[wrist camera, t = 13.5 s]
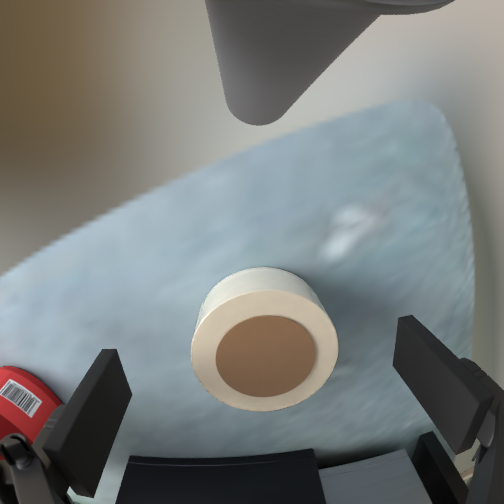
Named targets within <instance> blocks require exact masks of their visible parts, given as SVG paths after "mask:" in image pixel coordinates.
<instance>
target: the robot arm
mask: <svg viewBox="0 0 504 504" xmlns="http://www.w3.org/2000/svg"><path fill="white" fill-rule="evenodd" d="M393 367H394V368H395V369H396V371H397V372H398V374H399V375H400V376H401V378H402V379H403V380H404V382H405V383H406V384H407V386H408V387H409V389H410V390H411V391H412V393H413V394H414V396H415V397H416V398H417V400H418V401H419V403H420V404H421V405H422V407H423V408H424V410H425V411H426V412H427V414H428V415H429V417H430V418H431V420H432V421H433V422H434V424H435V425H436V427H437V428H438V430H439V431H440V433H441V434H442V435H443V437H444V438H445V440H446V441H447V443H448V444H449V446H450V447H451V449H452V450H453V452H454V453H455V455H458V454H460V453H462V452H464V451H466V450H468V449H470V448H471V447H472V446H473V443H474V442H475V439H476V437H477V439H478V440H479V441H480V443H481V444H480V445H479V448H478V449H477V451H476V453H475V455H474V457H473V459H472V461H474V460H475V458H476V463H475V467H474V471H473V476H472V480H471V484H470V488H469V492H468V496H467V499H466V503H465V504H504V390H503V389H502V388H501V387H499V385H498V384H497V383H496V382H494V381H493V380H492V379H491V378H490V377H489V376H487V374H486V373H485V372H484V371H483V370H481V368H480V367H479V366H478V365H477V364H476V363H475V362H473V361H471V360H469V359H466V358H462V359H458V358H457V357H456V356H455V355H454V354H453V353H452V352H451V351H450V350H449V349H448V348H447V347H446V346H445V345H444V344H443V343H442V342H441V341H440V340H439V339H437V338H436V337H435V336H434V335H433V334H432V333H431V332H430V331H429V330H428V329H427V328H426V327H425V326H423V325H422V324H421V323H420V322H419V321H418V320H417V319H416V318H415V317H414V316H413V315H409V316H405V317H400V318H398V326H397V335H396V344H395V352H394V359H393ZM131 397H132V392H131V390H130V387H129V384H128V382H127V379H126V376H125V373H124V370H123V367H122V364H121V361H120V358H119V355H118V352H117V349H102V350H101V352H100V353H99V355H98V356H97V358H96V359H95V361H94V363H93V364H92V366H91V367H90V369H89V370H88V372H87V373H86V375H85V376H84V378H83V380H82V381H81V383H80V384H79V386H78V387H77V389H76V391H75V392H74V394H73V395H72V397H71V399H70V400H69V402H68V403H67V404H61V405H60V406H58V407H57V408H56V409H55V410H53V412H52V413H51V415H50V416H49V418H48V421H46V423H45V424H44V427H43V428H42V429H41V431H40V432H39V434H38V436H37V437H36V439H35V441H34V442H33V444H32V446H31V445H30V443H29V442H28V440H27V439H26V437H25V436H24V435H22V434H20V433H12V434H9V435H7V436H5V437H4V438H3V439H2V440H1V441H0V454H1V455H2V457H3V458H4V459H5V460H0V504H73V502H72V500H71V498H70V496H69V495H68V494H67V491H68V488H69V486H70V487H71V489H72V490H73V491H74V492H75V493H76V495H81V496H85V497H90V498H94V495H95V493H96V490H97V487H98V484H99V481H100V478H101V475H102V473H103V470H104V467H105V464H106V462H107V459H108V456H109V453H110V451H111V448H112V445H113V443H114V440H115V438H116V435H117V432H118V430H119V427H120V425H121V422H122V419H123V417H124V414H125V412H126V409H127V407H128V404H129V402H130V399H131Z"/></svg>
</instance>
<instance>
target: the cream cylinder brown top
mask: <svg viewBox="0 0 504 504" xmlns="http://www.w3.org/2000/svg"><path fill="white" fill-rule="evenodd" d="M338 350H339V344H338V336H337V332H336V329H335V327H334V324H333V323H332V321H331V319H330V317H329V316H328V314H327V312H326V310H325V309H324V307H323V305H322V303H321V302H320V300H319V298H318V296H317V295H316V293H315V292H314V290H313V289H312V288H311V287H310V286H309V285H308V284H307V283H306V282H305V281H304V280H302V279H301V278H299V277H298V276H296V275H294V274H292V273H290V272H287V271H284V270H281V269H277V268H269V267H256V268H250V269H245V270H242V271H238V272H236V273H234V274H232V275H229V276H228V277H226V278H224V279H223V280H222V281H220V282H219V283H218V284H217V285H215V286H214V288H213V289H212V290H211V291H210V292H209V293H208V295H207V296H206V298H205V299H204V301H203V303H202V306H201V308H200V311H199V315H198V319H197V323H196V327H195V331H194V335H193V339H192V345H191V362H192V366H193V370H194V372H195V375H196V377H197V379H198V380H199V382H200V383H201V385H202V386H203V387H204V388H205V389H206V390H207V391H208V392H209V393H210V394H211V395H212V396H213V397H215V398H216V399H218V400H219V401H221V402H223V403H225V404H227V405H229V406H232V407H235V408H238V409H242V410H247V411H257V412H265V411H275V410H280V409H284V408H288V407H291V406H293V405H296V404H298V403H300V402H302V401H304V400H305V399H307V398H309V397H310V396H312V395H313V394H314V393H315V392H317V391H318V390H319V389H320V388H321V387H322V386H323V385H324V383H325V382H326V381H327V380H328V378H329V377H330V375H331V373H332V372H333V369H334V367H335V365H336V361H337V357H338Z"/></svg>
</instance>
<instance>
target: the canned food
mask: <svg viewBox="0 0 504 504" xmlns="http://www.w3.org/2000/svg"><path fill="white" fill-rule="evenodd" d="M61 404H62V402H61V401H60V400H59V399H58V397H57V396H56V395H55V394H54V393H53V392H52V391H51V390H50V389H49V388H48V387H47V386H46V385H45V384H44V383H43V382H41V381H40V380H39V379H37V378H36V377H35V376H33V375H31V374H29V373H28V372H26V371H24V370H22V369H19V368H16V367H12V366H3V367H0V441H1V440H2V439H3V438H4V437H5V436H7V435H9V434H12V433H20V434H22V435H24V436H25V437H26V439H27V440H28V442H29V443H30V445H31V446H32V444H33V442H34V441H35V439H36V437H37V436H38V434H39V432H40V431H41V429H42V428H43V427H44V424H45V423H46V421H48V418H49V416H50V415H51V413H52V412H53V410H55V409H56V408H57V407H58V406H60V405H61ZM0 460H5V459H4V458H3V457H2V455H1V454H0Z"/></svg>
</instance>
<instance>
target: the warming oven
mask: <svg viewBox="0 0 504 504" xmlns="http://www.w3.org/2000/svg"><path fill="white" fill-rule="evenodd" d="M115 504H326V500H325V495H324V491H323V487H322V483H321V479H320V475H319V471H318V467H317V463H316V459H315V455H314V451H313V449H307V450H301V451H294V452H287V453H278V454H270V455H259V456H248V457H232V458H205V459H179V458H152V457H137V456H130V457H129V460H128V463H127V466H126V469H125V472H124V476H123V479H122V482H121V486H120V489H119V493H118V496H117V499H116V503H115Z"/></svg>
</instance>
